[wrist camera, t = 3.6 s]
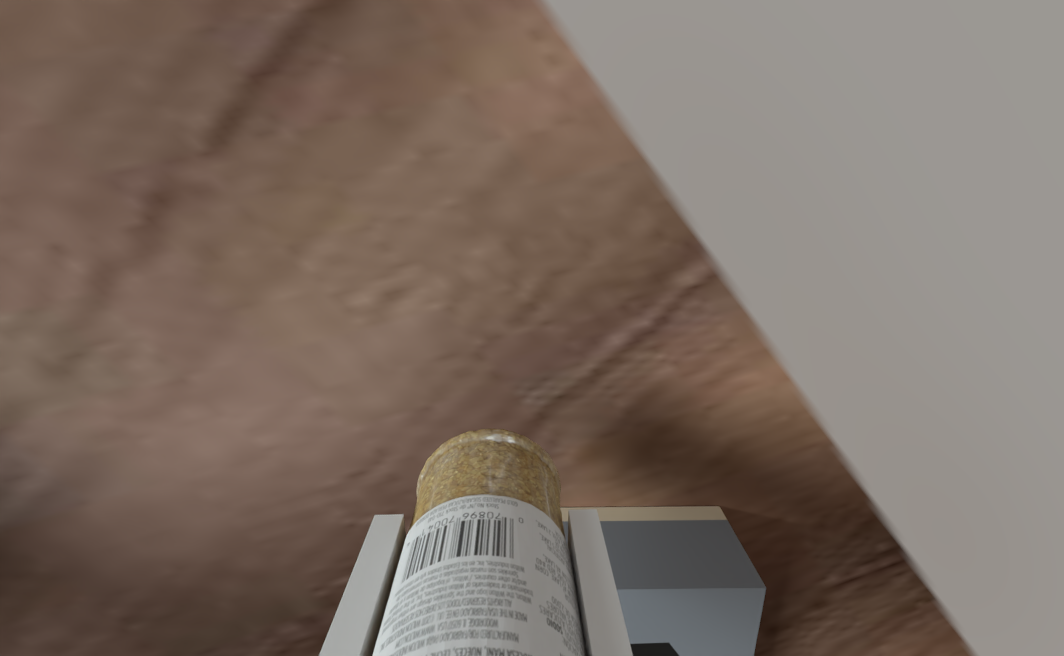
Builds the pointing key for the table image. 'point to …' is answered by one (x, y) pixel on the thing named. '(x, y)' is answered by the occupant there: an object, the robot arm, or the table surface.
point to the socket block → (682, 578)
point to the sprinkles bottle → (484, 557)
